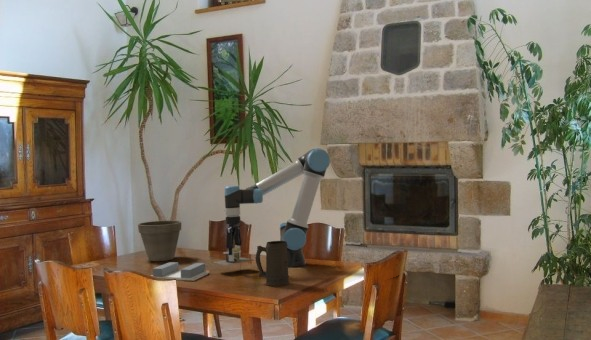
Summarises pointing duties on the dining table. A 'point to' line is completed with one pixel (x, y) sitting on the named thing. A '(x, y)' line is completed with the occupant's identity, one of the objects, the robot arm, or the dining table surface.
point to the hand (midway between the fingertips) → (234, 259)
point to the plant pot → (160, 239)
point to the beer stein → (274, 263)
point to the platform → (236, 258)
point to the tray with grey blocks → (180, 271)
